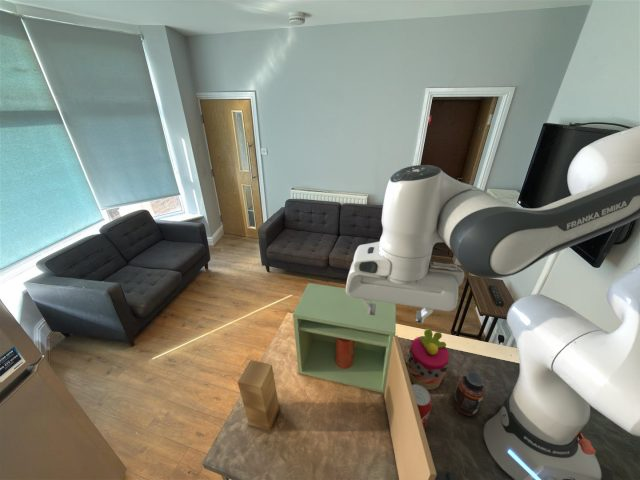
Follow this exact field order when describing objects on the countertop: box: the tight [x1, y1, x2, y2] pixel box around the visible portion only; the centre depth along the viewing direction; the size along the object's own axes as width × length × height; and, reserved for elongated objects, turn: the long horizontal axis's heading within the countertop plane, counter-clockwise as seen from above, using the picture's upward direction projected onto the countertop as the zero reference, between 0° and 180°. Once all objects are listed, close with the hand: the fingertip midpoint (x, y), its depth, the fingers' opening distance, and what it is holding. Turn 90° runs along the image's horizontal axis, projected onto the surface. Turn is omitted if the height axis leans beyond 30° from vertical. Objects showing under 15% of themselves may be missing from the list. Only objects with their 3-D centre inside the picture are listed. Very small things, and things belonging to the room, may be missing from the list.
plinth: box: [237, 359, 280, 432], centre depth 66 cm, size 6×6×18 cm
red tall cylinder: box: [335, 337, 355, 369], centre depth 80 cm, size 6×6×12 cm
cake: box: [405, 328, 450, 391], centre depth 76 cm, size 10×11×15 cm
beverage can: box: [411, 384, 433, 430], centre depth 65 cm, size 6×6×12 cm
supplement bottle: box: [452, 371, 486, 416], centre depth 69 cm, size 6×6×11 cm
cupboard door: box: [383, 335, 456, 480], centre depth 56 cm, size 6×26×24 cm, turn 178°
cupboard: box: [292, 282, 397, 394], centre depth 78 cm, size 14×26×24 cm, turn 75°
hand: (394, 316), depth 53 cm, fingers open, 8 cm apart
